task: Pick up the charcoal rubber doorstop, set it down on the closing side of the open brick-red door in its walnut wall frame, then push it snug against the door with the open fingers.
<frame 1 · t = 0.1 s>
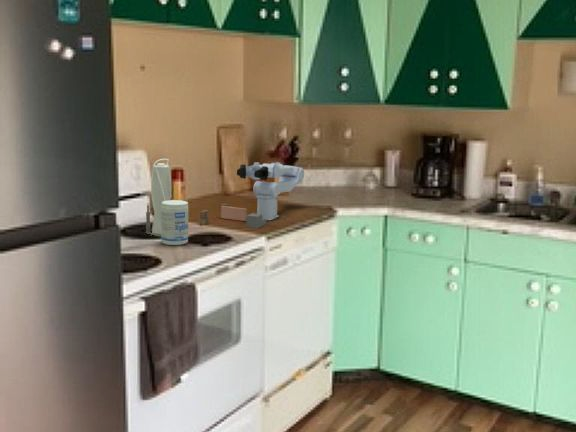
hand: (246, 173, 260), 22 cm above the countertop, tool horizontal, fingers open, 7 cm apart
door frame: (214, 220, 273), on the countertop
doorstop: (256, 226, 267), on the countertop
door: (233, 213, 276), point 3 cm above the countertop, hinge at 90.0°
supplement tub: (174, 243, 236), on the countertop
skyscraper: (160, 234, 249), on the countertop
soda can: (164, 226, 262), on the countertop
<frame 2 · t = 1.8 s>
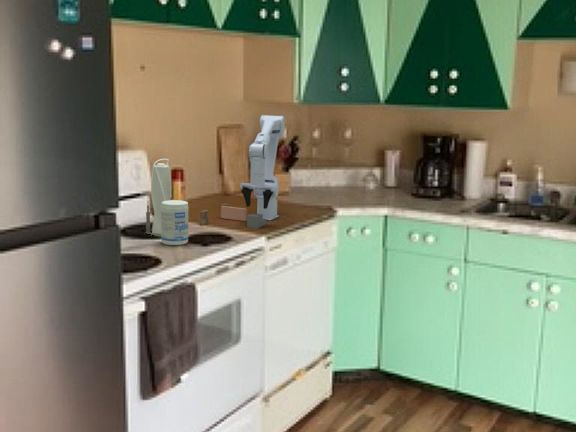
hand: (256, 207, 266), 8 cm above the countertop, tool pointing down, fingers open, 7 cm apart
nothing on the countertop moved.
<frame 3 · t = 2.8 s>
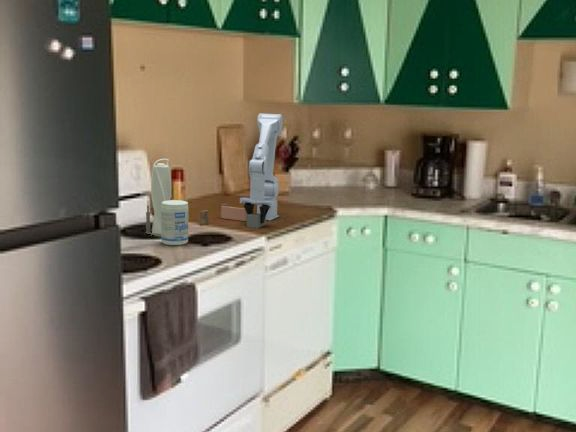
hand: (256, 222, 267), 1 cm above the countertop, tool pointing down, fingers closed on doorstop, 5 cm apart
doorstop: (256, 225, 267), on the countertop, touching gripper
everything else where it was.
when the fingers open (3 cm above the countertop, at t = 6.3 s): doorstop stays where it is, on the countertop.
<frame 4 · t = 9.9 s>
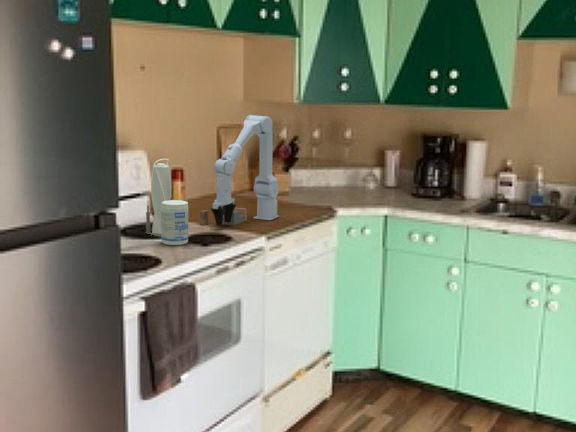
hand: (223, 223, 262), 1 cm above the countertop, tool pointing down, fingers open, 6 cm apart
doorstop: (234, 223, 271), on the countertop, touching gripper
everything else where it was.
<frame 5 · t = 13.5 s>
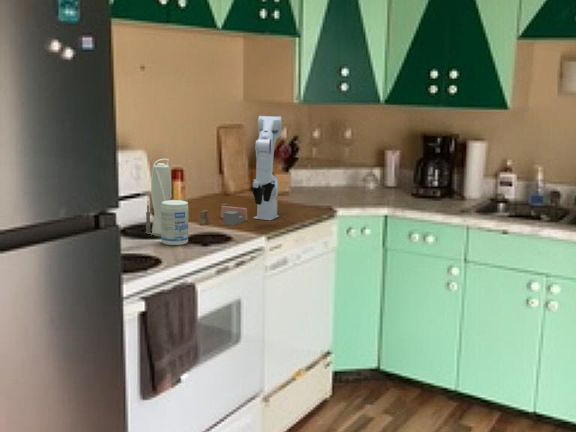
hand: (262, 202, 265), 9 cm above the countertop, tool pointing down, fingers open, 7 cm apart
doorstop: (233, 223, 271), on the countertop
door: (234, 213, 276), point 3 cm above the countertop, hinge at 93.3°
everything else where it was.
at the end: doorstop inside the target area (0.5 cm from its centre), on the countertop; door at +93° (first picture: +90°); doorstop tilted 0° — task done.
